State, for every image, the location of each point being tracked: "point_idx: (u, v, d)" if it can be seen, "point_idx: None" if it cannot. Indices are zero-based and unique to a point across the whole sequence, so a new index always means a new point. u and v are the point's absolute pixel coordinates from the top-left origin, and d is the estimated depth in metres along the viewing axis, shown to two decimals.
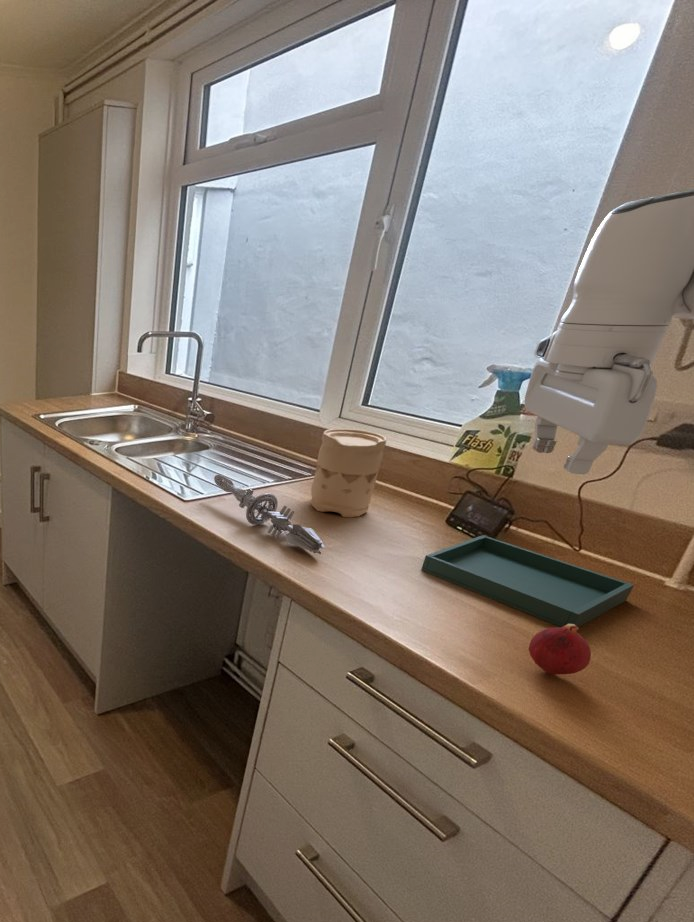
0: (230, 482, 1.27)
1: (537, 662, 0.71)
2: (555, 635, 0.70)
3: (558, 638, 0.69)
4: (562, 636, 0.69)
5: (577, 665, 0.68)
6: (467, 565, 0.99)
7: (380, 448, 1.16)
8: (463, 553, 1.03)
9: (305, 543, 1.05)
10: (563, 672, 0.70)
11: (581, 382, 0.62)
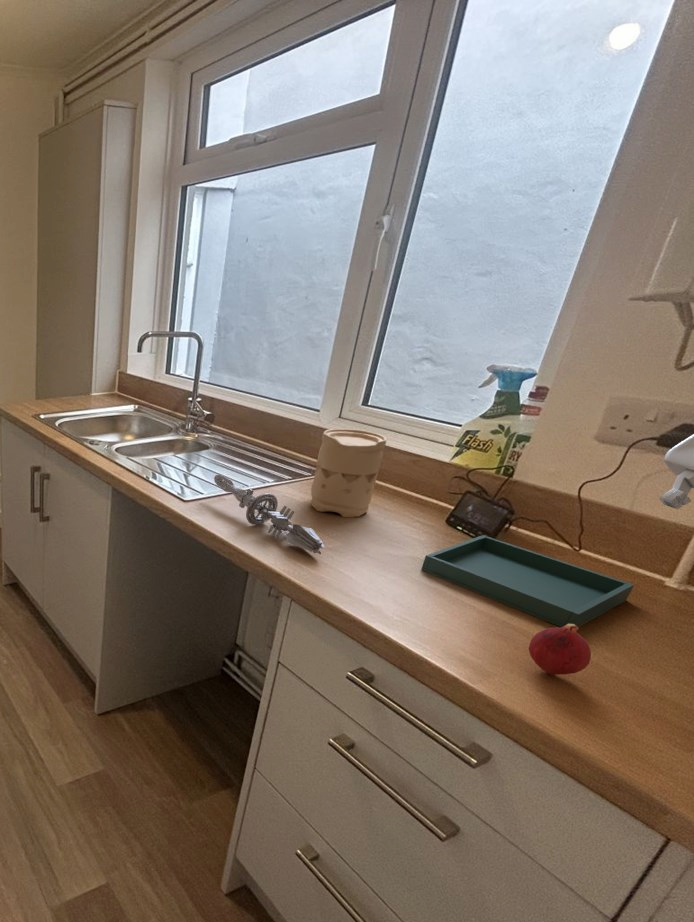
0: (230, 482, 1.27)
1: (537, 662, 0.71)
2: (555, 635, 0.70)
3: (558, 638, 0.69)
4: (562, 636, 0.69)
5: (577, 665, 0.68)
6: (467, 565, 0.99)
7: (380, 448, 1.16)
8: (463, 553, 1.03)
9: (305, 543, 1.05)
10: (563, 672, 0.70)
11: None
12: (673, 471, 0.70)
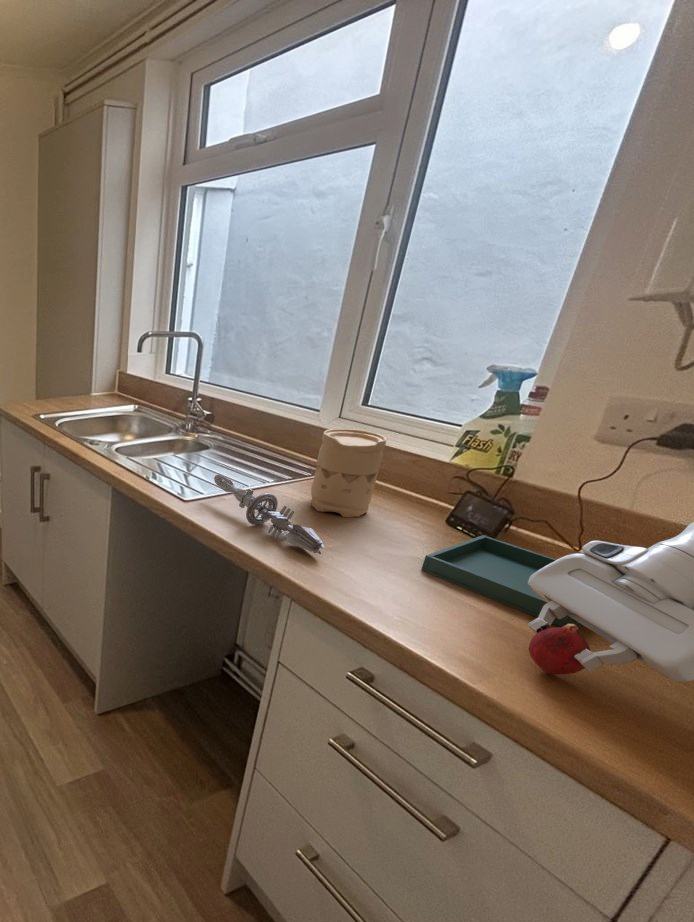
0: (230, 482, 1.27)
1: (537, 662, 0.71)
2: (555, 635, 0.70)
3: (558, 638, 0.69)
4: (562, 636, 0.69)
5: (577, 665, 0.68)
6: (467, 565, 0.99)
7: (380, 448, 1.16)
8: (463, 553, 1.03)
9: (305, 543, 1.05)
10: (563, 672, 0.70)
11: (653, 605, 0.65)
12: (535, 593, 0.78)
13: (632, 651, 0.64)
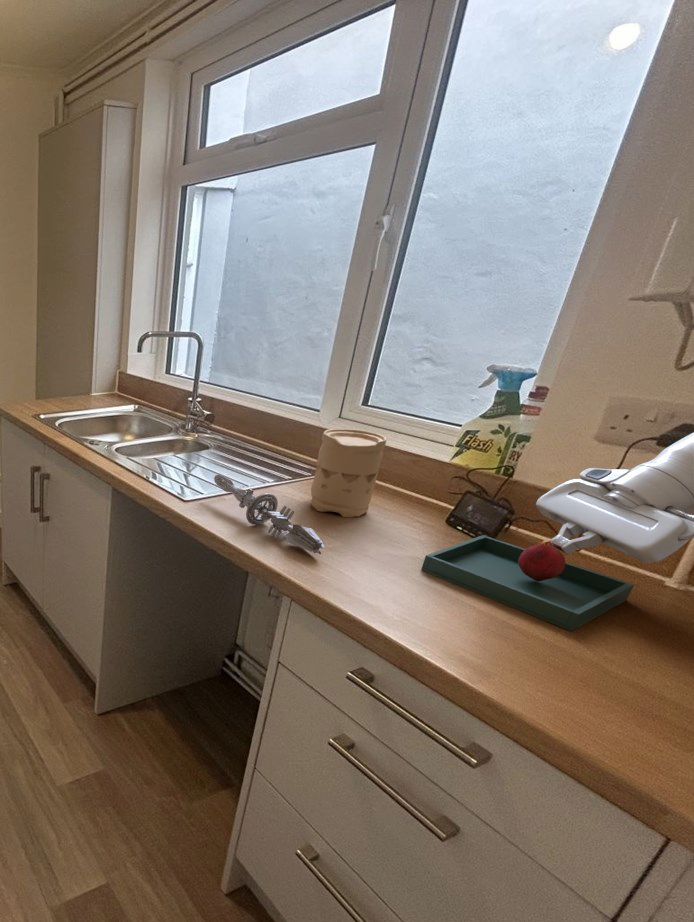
0: (230, 482, 1.27)
1: (525, 573, 0.93)
2: (535, 550, 0.91)
3: (537, 552, 0.91)
4: (540, 550, 0.91)
5: (554, 570, 0.90)
6: (467, 565, 0.99)
7: (380, 448, 1.16)
8: (463, 553, 1.03)
9: (305, 543, 1.05)
10: (545, 577, 0.91)
11: (633, 510, 0.85)
12: (541, 512, 0.98)
13: (599, 536, 0.87)
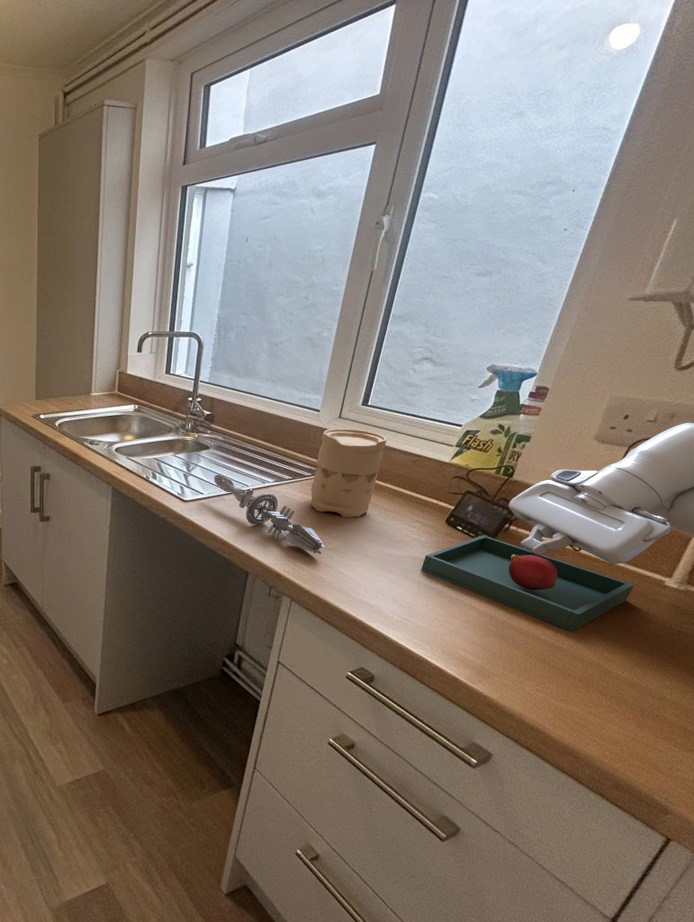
0: (230, 482, 1.27)
1: None
2: (509, 565, 0.92)
3: (509, 568, 0.91)
4: (510, 565, 0.91)
5: (527, 584, 0.89)
6: (467, 565, 0.99)
7: (380, 448, 1.16)
8: (463, 553, 1.03)
9: (305, 543, 1.05)
10: (534, 589, 0.89)
11: (601, 511, 0.85)
12: (514, 514, 0.98)
13: (568, 538, 0.88)
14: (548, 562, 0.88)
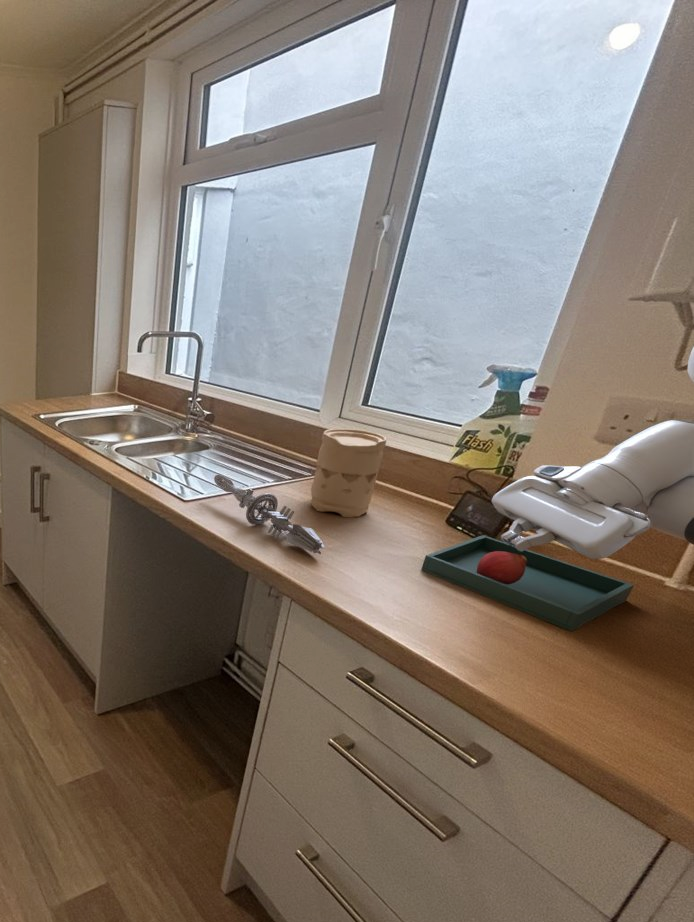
0: (230, 482, 1.27)
1: None
2: None
3: None
4: None
5: (510, 582, 0.90)
6: (467, 565, 0.99)
7: (380, 448, 1.16)
8: (463, 553, 1.03)
9: (305, 543, 1.05)
10: (521, 575, 0.89)
11: (582, 506, 0.85)
12: (497, 509, 0.98)
13: (551, 534, 0.87)
14: (487, 559, 0.91)
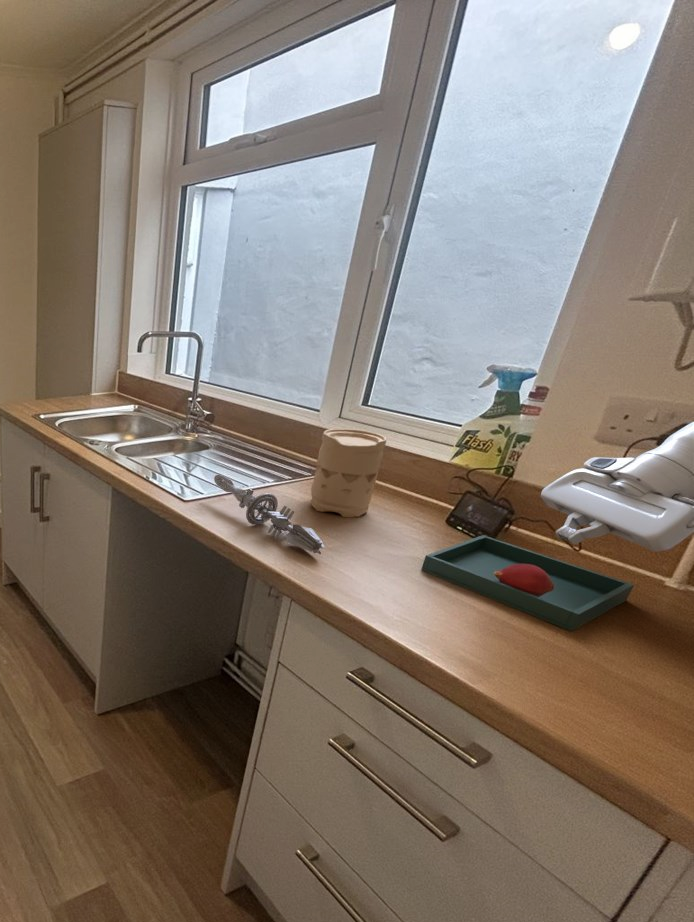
0: (230, 482, 1.27)
1: None
2: None
3: None
4: None
5: None
6: (467, 565, 0.99)
7: (380, 448, 1.16)
8: (463, 553, 1.03)
9: (305, 543, 1.05)
10: None
11: (639, 498, 0.84)
12: (546, 503, 0.97)
13: (606, 526, 0.86)
14: (529, 582, 0.86)
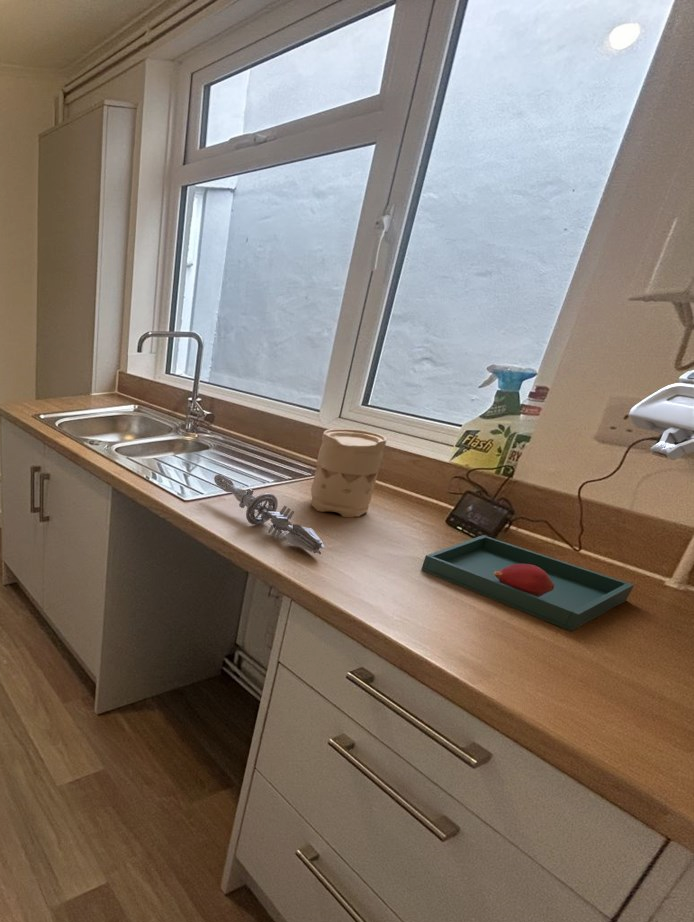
0: (230, 482, 1.27)
1: None
2: None
3: None
4: None
5: None
6: (467, 565, 0.99)
7: (380, 448, 1.16)
8: (463, 553, 1.03)
9: (305, 543, 1.05)
10: None
11: None
12: (635, 424, 0.91)
13: None
14: (529, 582, 0.86)
